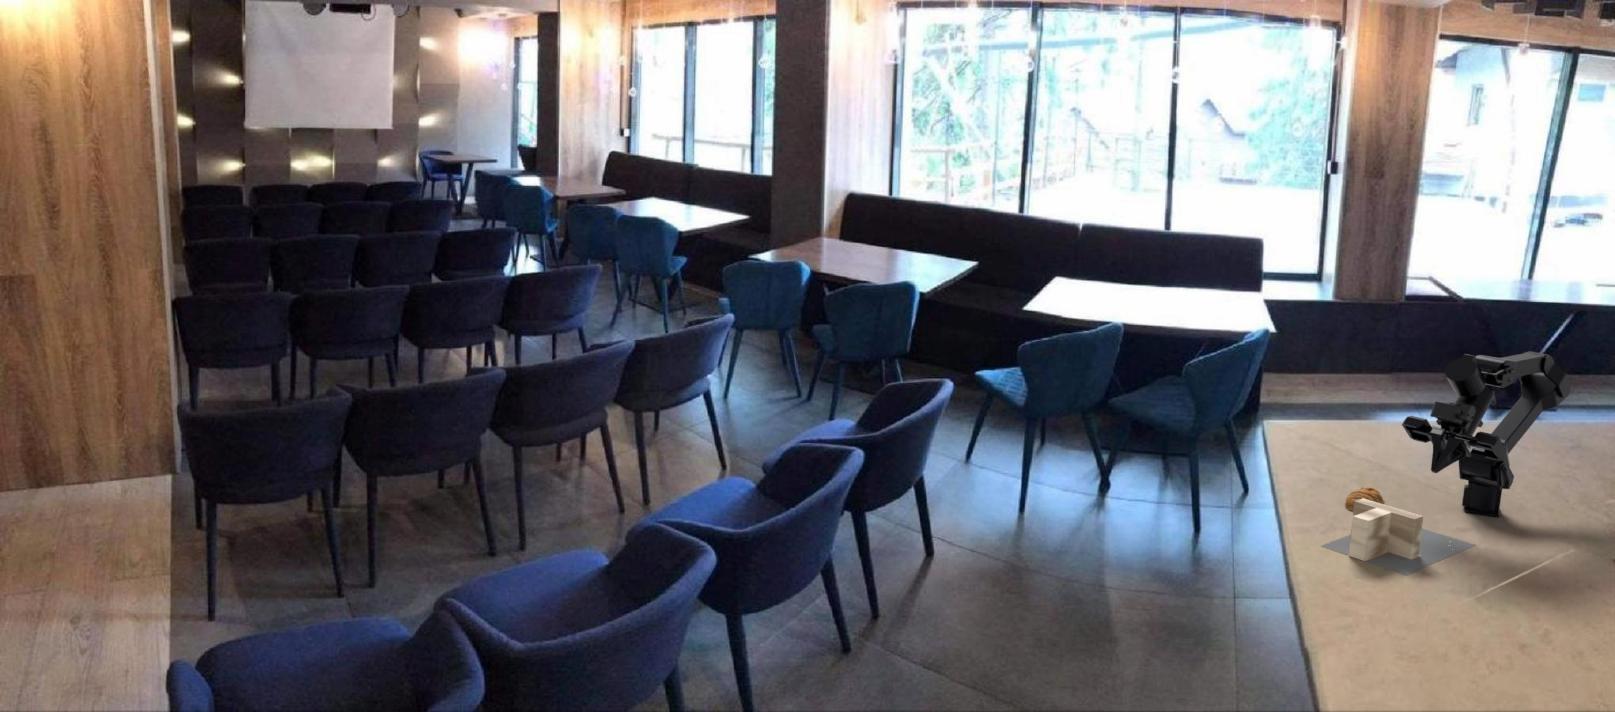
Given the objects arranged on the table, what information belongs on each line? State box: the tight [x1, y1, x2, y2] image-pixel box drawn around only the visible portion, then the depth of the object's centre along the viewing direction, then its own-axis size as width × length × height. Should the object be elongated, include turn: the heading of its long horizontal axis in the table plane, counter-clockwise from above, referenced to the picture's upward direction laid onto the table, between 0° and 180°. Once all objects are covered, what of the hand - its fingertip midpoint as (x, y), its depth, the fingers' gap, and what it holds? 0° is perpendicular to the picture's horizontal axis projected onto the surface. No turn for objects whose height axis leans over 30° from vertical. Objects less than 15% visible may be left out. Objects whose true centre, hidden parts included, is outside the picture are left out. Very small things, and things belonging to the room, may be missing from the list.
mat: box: [1320, 528, 1476, 576], centre depth 227 cm, size 26×17×1 cm, turn 125°
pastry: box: [1344, 486, 1386, 511], centre depth 248 cm, size 9×7×4 cm
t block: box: [1348, 498, 1424, 562], centre depth 223 cm, size 11×12×8 cm
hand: (1433, 471), depth 233 cm, fingers closed
